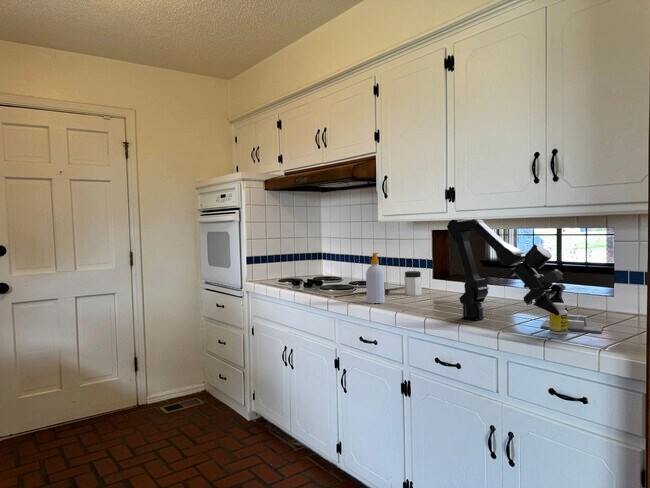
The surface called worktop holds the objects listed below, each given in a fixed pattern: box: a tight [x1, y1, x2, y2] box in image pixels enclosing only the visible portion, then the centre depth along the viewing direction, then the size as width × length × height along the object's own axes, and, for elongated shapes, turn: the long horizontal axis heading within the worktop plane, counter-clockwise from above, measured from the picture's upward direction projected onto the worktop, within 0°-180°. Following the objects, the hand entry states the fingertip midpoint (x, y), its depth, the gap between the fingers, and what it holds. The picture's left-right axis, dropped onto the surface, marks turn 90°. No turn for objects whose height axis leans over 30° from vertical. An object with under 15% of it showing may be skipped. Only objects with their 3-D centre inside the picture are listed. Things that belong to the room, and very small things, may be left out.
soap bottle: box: [365, 252, 386, 304], centre depth 223 cm, size 9×9×24 cm
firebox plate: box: [540, 314, 604, 335], centre depth 161 cm, size 18×12×3 cm, turn 56°
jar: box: [404, 270, 423, 297], centre depth 245 cm, size 9×8×12 cm
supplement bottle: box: [549, 302, 569, 335], centre depth 154 cm, size 5×5×10 cm
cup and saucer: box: [384, 281, 391, 295], centre depth 251 cm, size 12×12×6 cm
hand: (562, 313), depth 153 cm, fingers closed on supplement bottle, 5 cm apart
